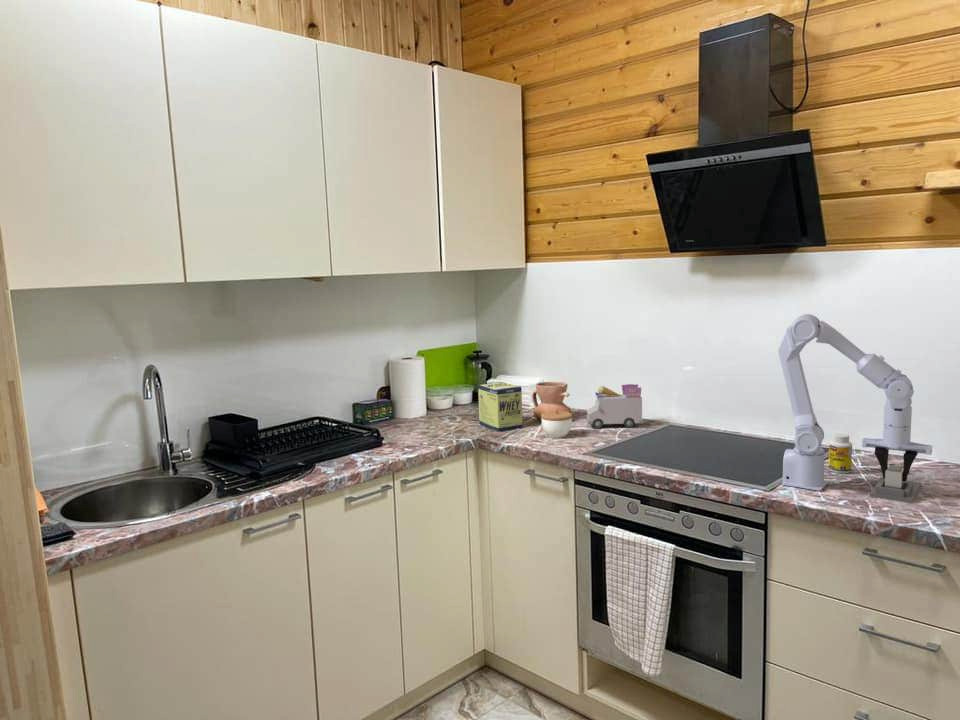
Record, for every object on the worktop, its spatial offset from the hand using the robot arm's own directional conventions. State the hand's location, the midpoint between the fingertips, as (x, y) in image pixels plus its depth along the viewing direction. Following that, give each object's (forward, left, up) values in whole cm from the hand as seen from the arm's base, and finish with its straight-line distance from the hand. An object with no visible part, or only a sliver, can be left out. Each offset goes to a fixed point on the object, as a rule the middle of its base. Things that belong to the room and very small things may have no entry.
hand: (894, 479), depth 170 cm
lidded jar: (-103, +8, -4) cm, 103 cm away
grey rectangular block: (0, 0, -2) cm, 3 cm away
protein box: (-129, +10, -4) cm, 129 cm away
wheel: (0, +7, 0) cm, 7 cm away
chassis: (0, +3, -4) cm, 5 cm away
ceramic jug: (-119, +29, -4) cm, 123 cm away
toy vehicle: (-93, +31, -4) cm, 98 cm away
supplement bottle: (-15, +14, -4) cm, 21 cm away
